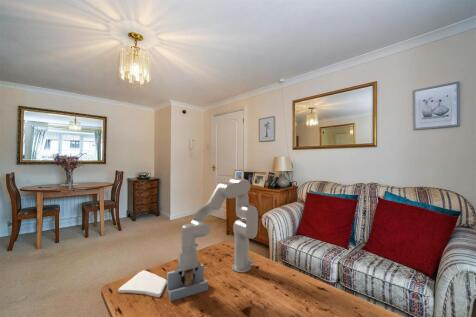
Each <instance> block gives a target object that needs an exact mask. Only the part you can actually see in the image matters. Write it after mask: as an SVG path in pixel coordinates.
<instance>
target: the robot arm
mask: <svg viewBox="0 0 476 317" xmlns="http://www.w3.org/2000/svg"><path fill="white" fill-rule="evenodd" d="M250 190H251V181H249V180H248V179H244V178H237V177H235V178H234V177H232V178H230V179H229V180H228V182H227V183H226V182H220V183H218V184H217V185H216V187H215V188H214V190H213V192H212V193H211V196H210V197H209V199H208V201H207V202H206V203H205V204H204V205H202V206H201V207H200V208H199V209H198V210H197V211H196V212H195V214H194V216H193V217H192V219H191V220H190V223H185V224H184V225H182V227H181V230H180V231H181V239H180V240H181V242H180V243H181V245H180V246H181V247H180V250H179V252H178V259H177V266H176V267H175V269H174V271H175V272H176V273H178V274H179V275H181V282H183V284H184V283H185V276H184V273H185V271H186V270H190V269H193V271H194V277H193V281H194V279H195V273H196V271H197V270H198V268H199V267H200V266H201V263H200V262H199V259H198V250H197V247H198V246H199V244H198V243H196V238H197V239H198V238H204V237H207V236H208V235H209V234H210V233H211V227H210V225H209V224H207V223H205V222H204V220H205V219H206V218H207V217H208V216H209V215H211V214H214V213H216V212H219V210H220V209H221V207H223V204H224V202H225V201H226V199H234V198H235V215H236V217H238V219H237V220H235V221H234V223H233V227H232V229H233V230H232V231H233V235H234V236H233V237H234V256H233V257H234V258H233V259H234V261H233V262H234V263H233V264H232V265H231V268H232V270H233V271H235V272H236V273H247V272H249V271H250V270H251V269H252V266H251V264H255V262H256V260H255V259H251V258H249V254H250V252H249V251H250V250H249V248H250V240H249V239H254V238H255V237H257V234H258V230H259V228H258V227H259V212H258V209H257V207H255V206H254V205H250V202H249V191H250ZM239 218H240V219H239ZM179 269H180V270H179Z"/></svg>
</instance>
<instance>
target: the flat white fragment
mask: <svg viewBox="0 0 476 317" xmlns="http://www.w3.org/2000/svg"><path fill="white" fill-rule="evenodd" d="M166 286H167V278H166V279H165V278H164V277H162V276H159V275H157V274H155V273H153V272H150V271H147V270H146V269H143V270H141V271H139V272H137V273H136V274H135V275H134V276H133V277H132V278H131V279H129V280H128V281H126V282H125V283H124V284H123V285H121V286H120V287H119V288H118V289H117V292H118V293H119V294H127V293H128V294H138V295H139V294H141V295H147V296H151V297H155V298H160V297H161V296H162V295H163V293H164V289H165V287H166Z"/></svg>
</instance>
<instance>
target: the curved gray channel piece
mask: <svg viewBox="0 0 476 317" xmlns="http://www.w3.org/2000/svg"><path fill="white" fill-rule="evenodd" d="M200 264H201V263H200ZM204 266H205V265H204V264H201V266H200V267H199V268H198V270H197V271H196V273H195V279H194V281H193V285H190V286H186V287H184V285H183V282H181V275H179V274H178V273H176V272H175V270H171V271H168V272H166V277H167V278H166V280H167V284H166V292H167V295H168V299H169V301H170V302H172V301H176V300H179V299H183V298H186V297H189V296H193V295H196V294H199V293H202V292H206V291H207V292H208V290H209V281H208V280H205V278H204V275H205V274H204V270H205V268H204ZM179 270H180V269H179Z"/></svg>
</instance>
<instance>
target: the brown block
mask: <svg viewBox="0 0 476 317" xmlns="http://www.w3.org/2000/svg"><path fill="white" fill-rule="evenodd" d="M184 276H185V283H184V284H183V285H184V287H186V286H190V285H193V277H194V271H193V269H190V270H186V271H185V273H184Z"/></svg>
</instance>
